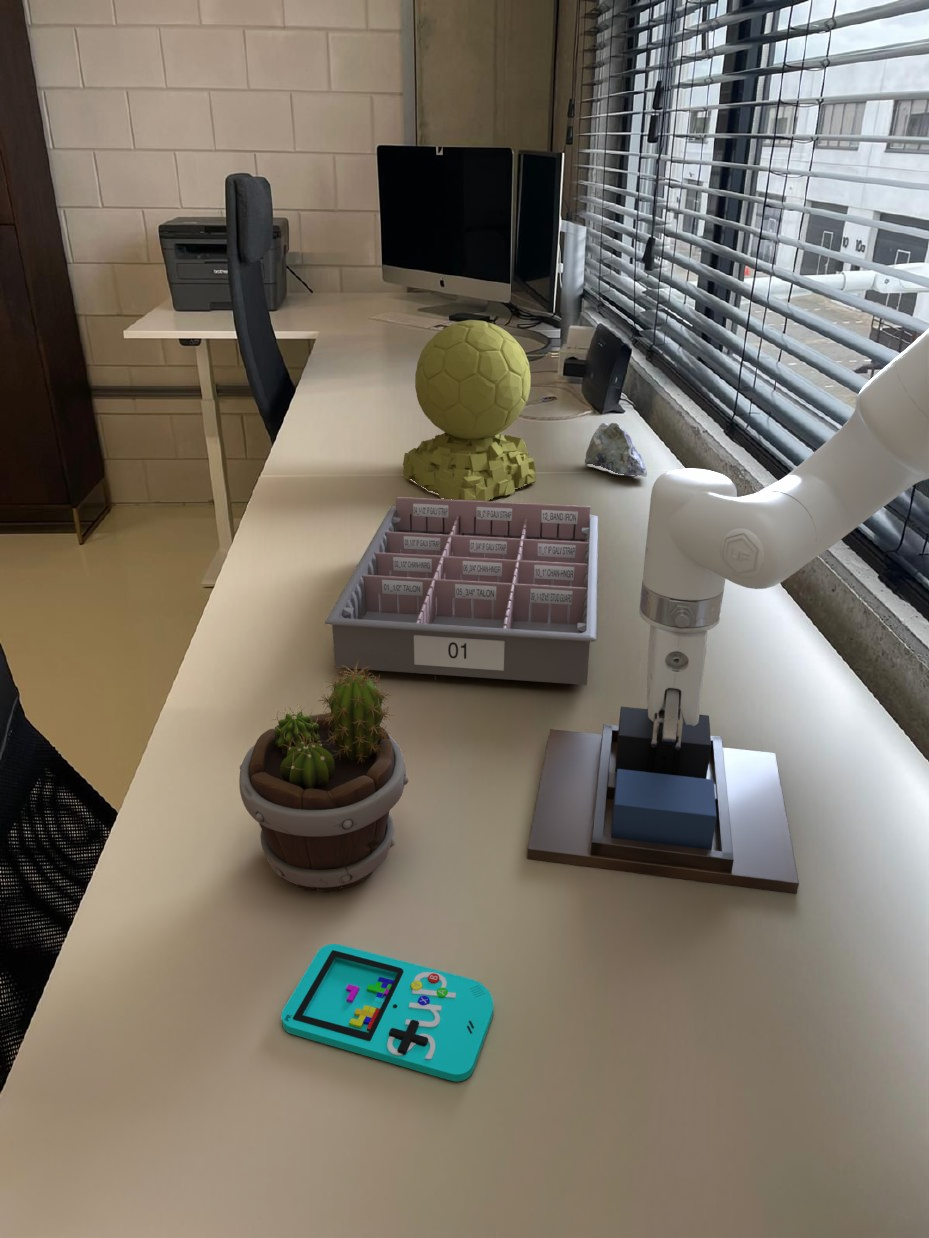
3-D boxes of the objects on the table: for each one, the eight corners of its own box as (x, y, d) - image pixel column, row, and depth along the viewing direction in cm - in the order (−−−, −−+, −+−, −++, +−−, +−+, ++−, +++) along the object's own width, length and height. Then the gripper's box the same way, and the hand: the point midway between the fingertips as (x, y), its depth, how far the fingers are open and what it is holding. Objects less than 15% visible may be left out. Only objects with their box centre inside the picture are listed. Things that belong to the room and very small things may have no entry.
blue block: (707, 817, 91) (713, 779, 89) (710, 855, 86) (716, 816, 84) (613, 805, 92) (617, 768, 90) (610, 842, 87) (614, 804, 85)
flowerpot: (258, 931, 79) (232, 732, 70) (243, 817, 92) (220, 637, 83) (426, 896, 83) (423, 703, 74) (389, 792, 96) (382, 617, 87)
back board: (773, 762, 101) (777, 741, 100) (796, 893, 83) (802, 870, 82) (549, 737, 105) (550, 717, 104) (526, 858, 87) (527, 835, 86)
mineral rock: (648, 485, 180) (653, 433, 175) (592, 485, 180) (596, 434, 175) (635, 464, 192) (639, 415, 187) (582, 464, 191) (585, 415, 187)
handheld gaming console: (468, 1075, 66) (275, 1020, 70) (468, 1085, 66) (276, 1029, 70) (501, 984, 73) (324, 938, 77) (501, 993, 73) (325, 947, 78)
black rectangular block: (703, 751, 99) (709, 715, 97) (705, 782, 94) (711, 745, 92) (617, 741, 101) (620, 705, 99) (615, 772, 96) (618, 735, 94)
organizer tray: (328, 680, 116) (322, 607, 111) (392, 552, 151) (390, 493, 146) (592, 699, 112) (597, 624, 107) (594, 563, 147) (599, 503, 143)
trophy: (477, 457, 195) (479, 306, 181) (552, 484, 180) (560, 322, 166) (389, 479, 182) (383, 318, 169) (461, 511, 167) (461, 337, 154)
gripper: (726, 648, 81) (701, 816, 89) (717, 568, 96) (695, 717, 104) (638, 640, 82) (621, 806, 91) (642, 562, 97) (627, 710, 106)
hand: (661, 757), depth 97 cm, fingers closed on black rectangular block, 5 cm apart
